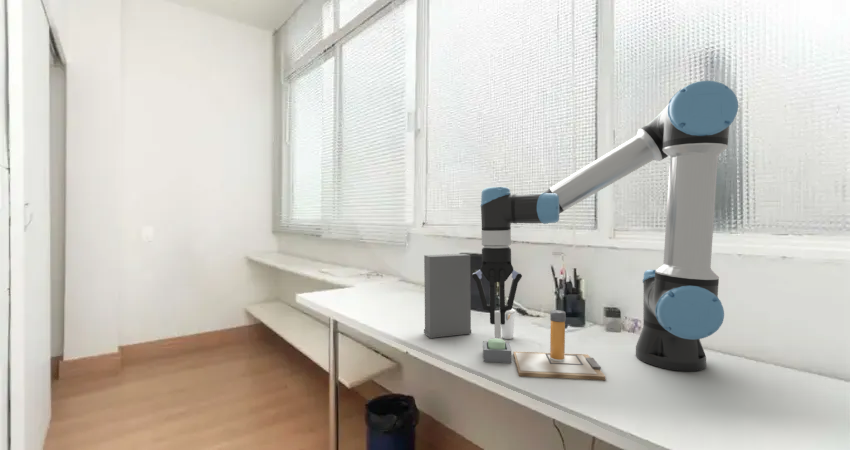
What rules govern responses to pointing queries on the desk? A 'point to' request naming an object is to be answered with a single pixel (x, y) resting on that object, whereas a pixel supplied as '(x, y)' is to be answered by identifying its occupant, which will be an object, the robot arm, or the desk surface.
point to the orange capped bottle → (557, 336)
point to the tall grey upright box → (447, 295)
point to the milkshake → (508, 324)
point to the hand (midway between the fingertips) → (497, 336)
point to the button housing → (496, 353)
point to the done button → (496, 344)
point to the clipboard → (557, 366)
